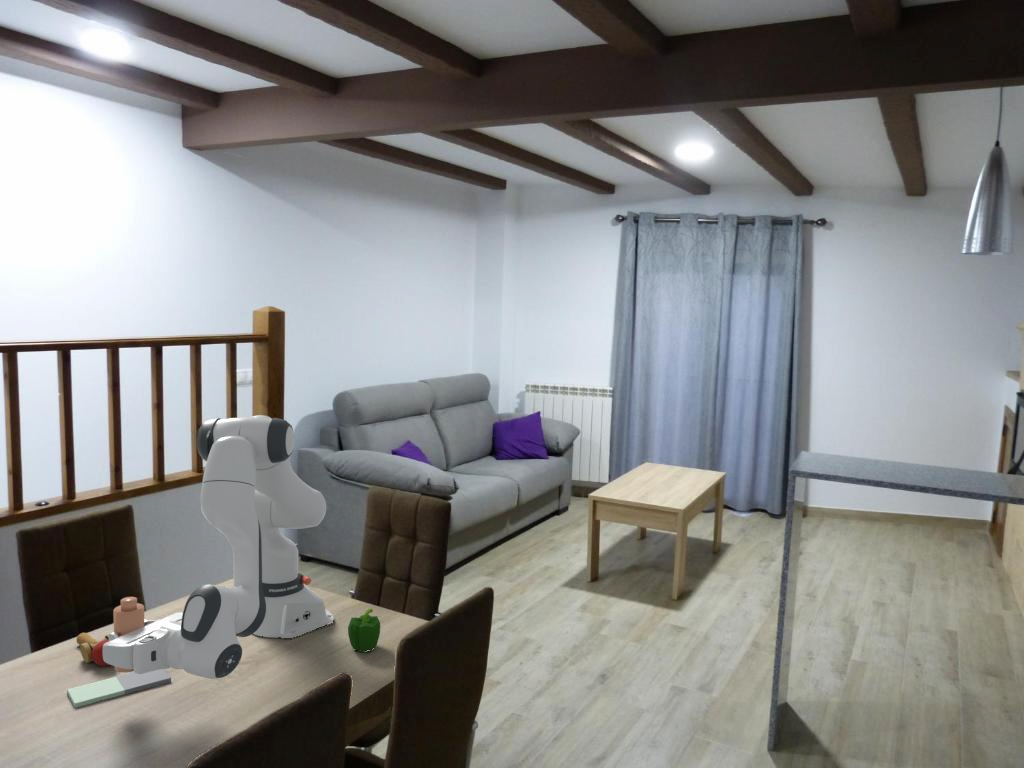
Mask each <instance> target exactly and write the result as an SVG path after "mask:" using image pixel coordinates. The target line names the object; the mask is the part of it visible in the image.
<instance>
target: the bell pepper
mask: <svg viewBox="0 0 1024 768" xmlns="http://www.w3.org/2000/svg"><path fill="white" fill-rule="evenodd" d="M373 612H374V609H372V608H368V609H367V610H366V611H365V613H364V614H363V615H360V616H358V617H357V616H356V617H351V618H350V620H349V623H348V626H347V635H348V638H349V643H350V646H351V647H352V650H354V649H355V650H361V651H367V650H372V649H373V648H375V647H376V648H377V645H378V641H379V638H380V635H381V622H380V620H379V618H378V615H376V616H375V615H373V616H372V615H370V613H373ZM376 648H375V649H376ZM355 650H354V651H355ZM361 651H360V652H361Z"/></svg>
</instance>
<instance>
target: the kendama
mask: <svg viewBox="0 0 1024 768" xmlns="http://www.w3.org/2000/svg"><path fill="white" fill-rule="evenodd" d="M109 634H110V633H108V634H106V635H105V636H104V637H103V639H102V640H101V641H97V640H96V639H95V638H93V637H92V636H90V634H88V633H87V632H81V633H80V634H78V635H77V637H76V643H77V644H78V645H80V646H79V647H80V648H79V649H80V650H79V651H80V654H81V657H82V659H83V661H84V662H85V663H87V664H89V663H91V662H94V663H95V664H97V665H98V666H100V667H102V666H103V667H107V666H111V665H110V664H108V663H106V662H104V660H103V645H104V644H105V643H107V642H109Z"/></svg>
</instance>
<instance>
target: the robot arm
mask: <svg viewBox="0 0 1024 768" xmlns="http://www.w3.org/2000/svg"><path fill="white" fill-rule="evenodd" d="M196 437H197V438H196V447H197V448H196V449H197V452H198V455H199V457H201V459H202V460H203V461H204V462H206V463H205V466H204V473H203V476H202V482H201V483H202V484H201V491H200V499H199V500H200V502H199V503H200V510H201V513H202V515H203V516H204V518H205V520H206V521H207V522H208V523H209V524H210V525H211V526H213V527H214V528H216V530H218V531H219V532H220V533H221V534H223V536H225V538H226V539H227V541H228V542H229V543H230V545H231V548H232V553H233V586H232V587H229V586H225V585H217V584H203V585H200V586H198V587H197V588H195V590H193V591H192V592H191V593H190V595H189V596H188V598H187V600H186V602H185V604H184V608H183V611H177V612H173V613H171V614H170V615H167V616H164V617H162V618H160V619H146V618H144V622H145V626H144V627H141V628H139V629H137V630H134V631H132V632H130V633H127V634H125V635H123V636H120V633H119V632H116V631H115V632H114V631H113V632H110V633H108V634H109V642H107V643H105V644H104V645H103V660H104V662H106V663H108V664H110V665H109V666H113V667H114V666H116V667H119V668H123V669H134V671H133V672H134V673H136V674H144V673H147V672H151V671H154V670H159V669H165V670H166V669H170V668H171V669H173V670H184V672H186V673H187V674H190V675H194V676H196V677H200V678H205V679H212V680H213V679H214V680H215V679H216V680H217V679H218V680H219V679H222V678H225V677H227V676H228V675H230V674H231V673H233V672H234V671H235V669H236V668H237V667H238V665H239V664H240V662H241V659H242V657H243V648H242V645H241V643H240V642H239V640H238V638H247V637H249V636H251V635H255V636H258V637H262V636H263V637H262V638H278V637H281V639H284V638H292V637H295V636H298V635H300V636H302V635H301V634H303V633H305V632H308V633H310V632H309V631H311V630H313V629H315V628H319V627H321V626H323V625H326V624H328V623H330V622H333V620H334V621H335V618H334V615H333V614H332V612H331V611H329V610H328V609H326V605H325V602H324V599H323V598H322V597H321V595H319V594H318V593H317V592H315V591H313V590H312V589H311V588H309V587H307V586H309V585H311V583H312V578H311V577H308V576H307V575H304V574H302V573H299V549H298V547H297V545H296V544H295V543H294V541H293V540H291V539H289V538H287V537H286V536H284V534H283V533H281V531H280V529H295V530H296V529H297V530H298V529H299V530H300V529H308V528H315V527H318V526H319V525H320V524H321V522H322V521H323V520H324V517H325V516H326V514H327V513H326V512H327V501H326V498H325V496H324V495H323V493H322V492H321V491H319V490H317V489H315V488H313V487H311V486H310V485H309V484H307V483H305V481H304V480H303V479H301V478H300V477H299V475H297V474H296V472H295V471H294V470H293V467H292V464H291V462H290V457H291V455H292V454H293V451H294V447H295V443H296V441H295V440H296V438H295V433H294V429H293V426H292V425H291V423H289V422H288V421H287V420H285V419H282V418H278V417H273V418H271V417H270V416H268V415H264V414H257V415H253V416H245V417H230V418H220V417H217V418H212V419H208V420H206V421H205V422H204V423H202V425H200V427H199V429H198V431H197V436H196ZM279 528H280V529H279ZM329 617H330V618H329ZM319 629H320V628H319ZM311 632H312V631H311ZM303 635H304V634H303ZM298 637H299V636H298ZM295 638H296V637H295ZM292 639H293V638H292Z"/></svg>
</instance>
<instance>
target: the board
mask: <svg viewBox="0 0 1024 768" xmlns="http://www.w3.org/2000/svg"><path fill="white" fill-rule="evenodd" d="M171 682H172V677H171V676H170V674H169V673H168V672H167V671H166V669H159V670H154V671H151V672H147V673H144V674H136V673H134V671H133V672H128V673H126V674H125V673H124V674H121V675H118V676H114V677H110V678H107V679H102V680H98V681H94V682H91V683H87V684H86V683H85V684H82V685H79V686H74V687H70V688H67V689H66V694H67V696H68V698H69V700H70V699H71V700H70V701H72V702H71V704H72V705H73V707H74V709H75V708H79V707H83V706H87V705H90V704H94V702H95V703H97V701H98V702H101V701H100V700H102V701H104V700H105V699H106V700H109V699H112V697H113V698H117V697H120V696H124V695H127V694H131V693H134V692H135V693H136V692H138V691H142V690H146V689H149V688H152V687H153V688H154V687H158V686H161V685H163V684H168V683H171ZM119 695H120V696H119ZM116 696H117V697H116ZM108 698H109V699H108Z"/></svg>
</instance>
